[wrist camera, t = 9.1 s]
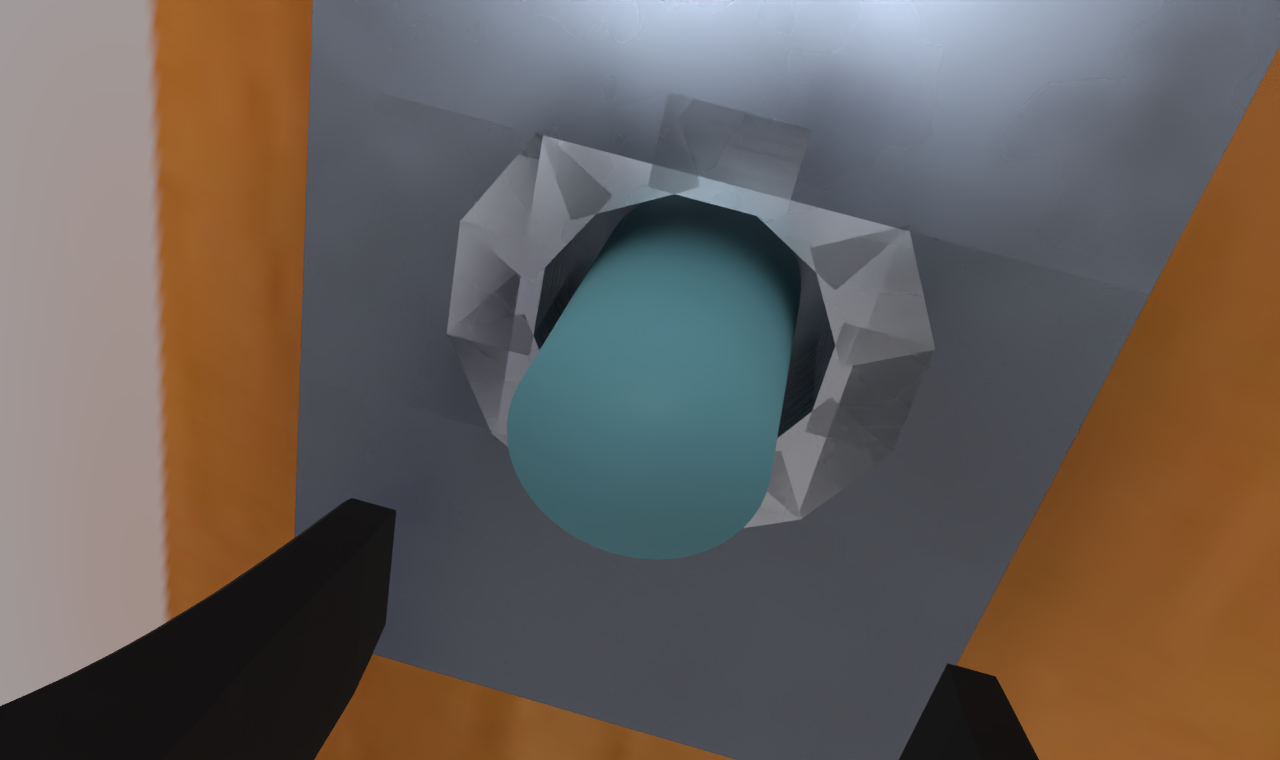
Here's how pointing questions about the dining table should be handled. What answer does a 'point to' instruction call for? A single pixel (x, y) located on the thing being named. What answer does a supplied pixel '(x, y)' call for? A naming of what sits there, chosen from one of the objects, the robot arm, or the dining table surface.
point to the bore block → (824, 335)
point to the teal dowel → (662, 383)
